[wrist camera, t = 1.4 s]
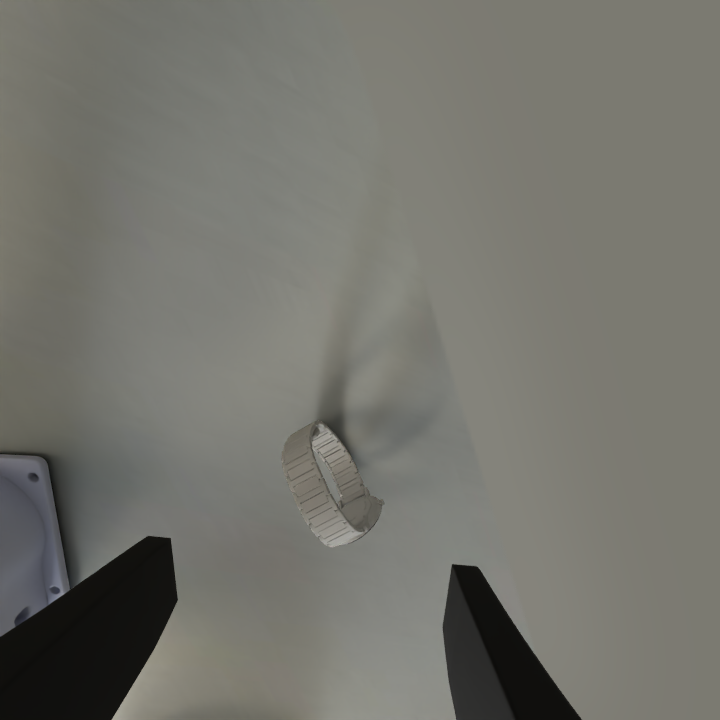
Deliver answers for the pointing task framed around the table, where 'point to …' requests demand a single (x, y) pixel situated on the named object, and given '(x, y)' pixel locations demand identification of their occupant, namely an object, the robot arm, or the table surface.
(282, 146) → the table surface
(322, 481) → the wristwatch
